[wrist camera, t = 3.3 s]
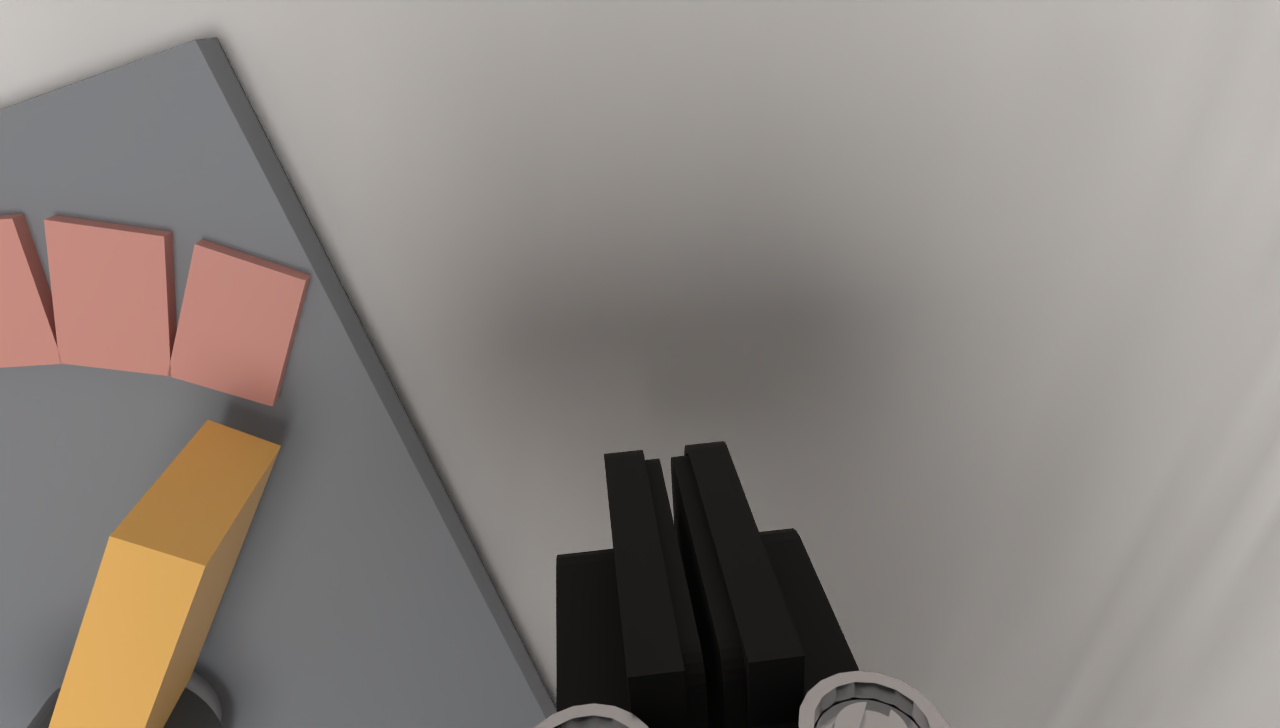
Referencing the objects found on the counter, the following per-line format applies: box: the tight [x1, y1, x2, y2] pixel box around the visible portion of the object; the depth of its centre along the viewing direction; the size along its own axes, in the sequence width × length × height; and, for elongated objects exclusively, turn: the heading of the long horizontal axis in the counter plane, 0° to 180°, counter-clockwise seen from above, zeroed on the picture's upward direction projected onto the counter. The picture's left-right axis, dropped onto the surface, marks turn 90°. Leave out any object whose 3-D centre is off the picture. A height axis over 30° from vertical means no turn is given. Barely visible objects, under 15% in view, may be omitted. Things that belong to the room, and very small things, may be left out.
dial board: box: [0, 38, 557, 728], centre depth 16 cm, size 20×14×1 cm
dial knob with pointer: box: [27, 420, 281, 728], centre depth 13 cm, size 9×3×4 cm, turn 153°
